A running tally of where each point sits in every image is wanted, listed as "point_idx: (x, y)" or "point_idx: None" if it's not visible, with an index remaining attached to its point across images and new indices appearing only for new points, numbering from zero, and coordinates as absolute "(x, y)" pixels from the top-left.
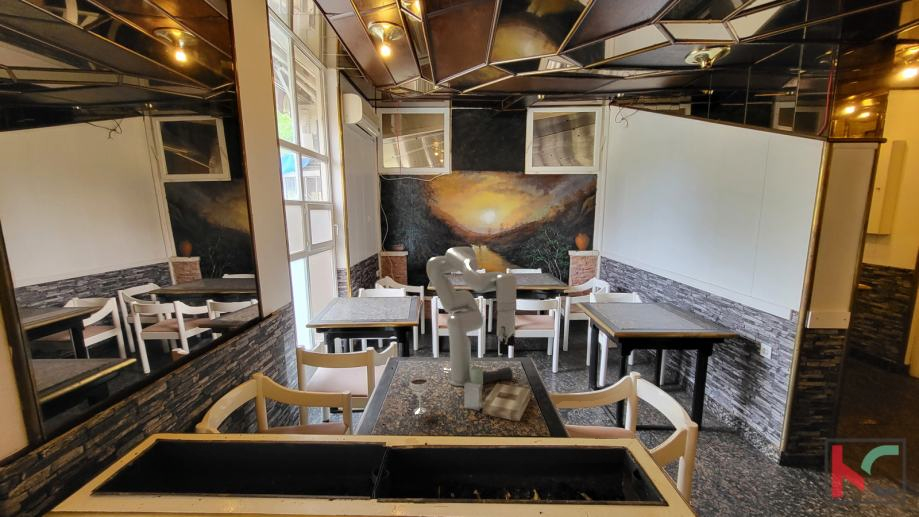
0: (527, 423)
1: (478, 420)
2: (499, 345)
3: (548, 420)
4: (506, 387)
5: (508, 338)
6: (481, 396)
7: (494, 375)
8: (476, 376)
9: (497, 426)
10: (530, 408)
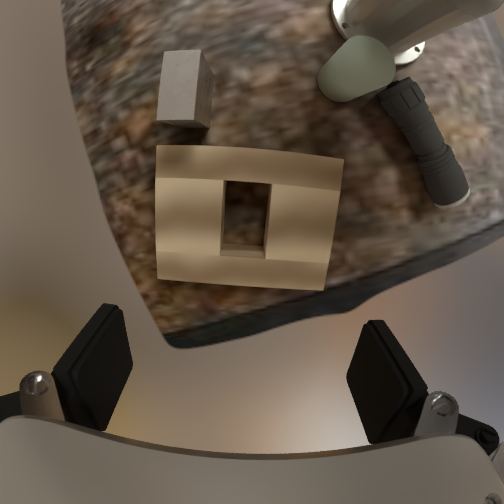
0: (168, 286)
1: (129, 147)
2: (66, 354)
3: (205, 332)
4: (317, 204)
5: (385, 392)
6: (202, 124)
7: (415, 138)
8: (334, 67)
9: (121, 211)
10: None
